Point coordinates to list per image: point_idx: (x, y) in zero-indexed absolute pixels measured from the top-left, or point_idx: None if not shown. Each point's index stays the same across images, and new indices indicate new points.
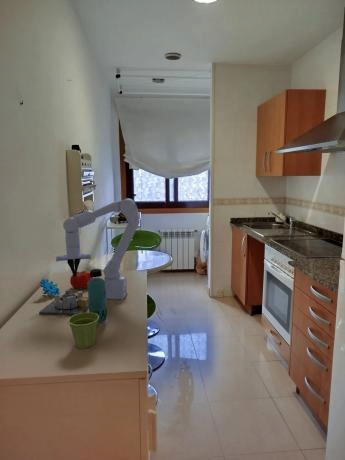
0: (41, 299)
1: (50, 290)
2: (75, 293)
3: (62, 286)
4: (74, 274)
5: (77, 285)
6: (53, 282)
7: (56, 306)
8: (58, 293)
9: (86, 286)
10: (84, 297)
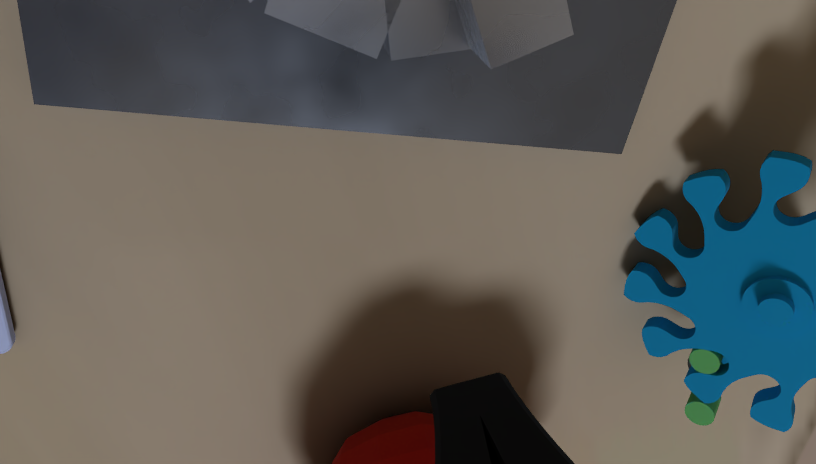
0: (811, 122)
1: (764, 235)
2: (363, 43)
3: (614, 459)
4: (484, 414)
5: None
6: (752, 414)
7: None
8: (637, 268)
9: (347, 441)
10: (246, 114)
